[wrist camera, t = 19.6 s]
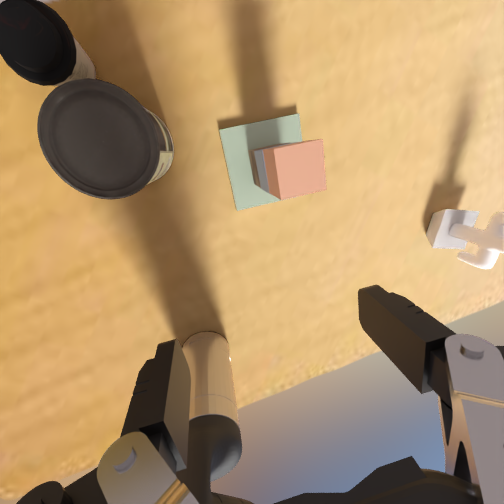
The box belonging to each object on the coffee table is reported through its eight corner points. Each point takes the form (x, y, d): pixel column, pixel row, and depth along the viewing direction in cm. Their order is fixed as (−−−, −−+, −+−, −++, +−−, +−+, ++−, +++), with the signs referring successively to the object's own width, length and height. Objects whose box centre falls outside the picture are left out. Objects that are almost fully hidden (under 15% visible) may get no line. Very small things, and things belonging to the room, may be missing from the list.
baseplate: (305, 193, 44) (307, 194, 43) (236, 209, 43) (237, 210, 42) (296, 114, 39) (299, 113, 38) (218, 130, 38) (219, 129, 37)
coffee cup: (115, 94, 34) (83, 73, 25) (61, 106, 34) (9, 89, 25) (91, 30, 32) (45, -20, 23) (32, 41, 31) (-39, -5, 22)
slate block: (295, 180, 37) (308, 184, 32) (261, 188, 36) (269, 194, 32) (290, 142, 35) (303, 141, 30) (254, 151, 34) (262, 150, 30)
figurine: (415, 246, 52) (493, 281, 38) (431, 199, 48) (522, 217, 35) (445, 248, 53) (531, 281, 39) (463, 201, 50) (562, 220, 36)
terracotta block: (308, 184, 32) (326, 189, 27) (269, 193, 32) (280, 200, 27) (304, 141, 30) (322, 138, 25) (262, 149, 30) (273, 149, 25)
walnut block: (284, 177, 41) (295, 180, 37) (254, 184, 41) (260, 188, 36) (279, 143, 39) (290, 142, 35) (247, 150, 39) (253, 150, 34)
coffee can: (96, 96, 34) (32, 62, 21) (177, 115, 37) (164, 95, 24) (96, 176, 37) (39, 189, 24) (170, 189, 40) (155, 207, 27)
